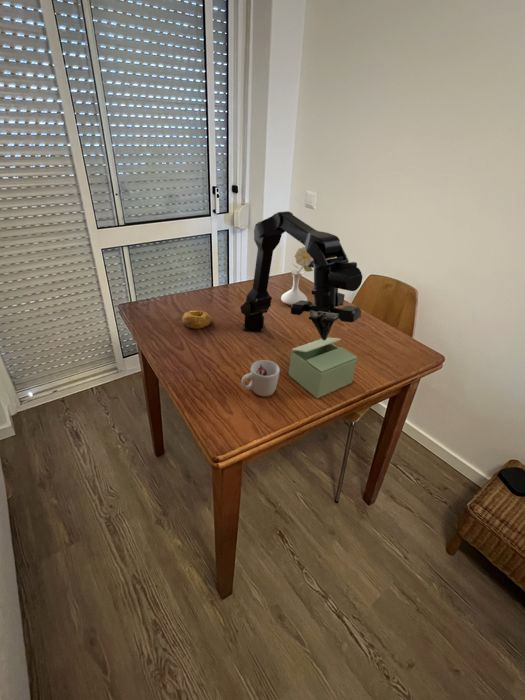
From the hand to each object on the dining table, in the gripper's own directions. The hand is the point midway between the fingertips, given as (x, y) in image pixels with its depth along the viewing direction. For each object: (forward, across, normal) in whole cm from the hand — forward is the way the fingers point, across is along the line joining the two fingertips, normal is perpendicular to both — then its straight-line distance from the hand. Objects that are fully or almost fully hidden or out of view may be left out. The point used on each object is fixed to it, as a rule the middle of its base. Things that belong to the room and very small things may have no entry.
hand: (324, 339), depth 99 cm
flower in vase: (+4, +35, -42) cm, 55 cm away
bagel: (+3, +53, -2) cm, 53 cm away
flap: (+3, +3, -1) cm, 4 cm away
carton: (+13, +2, -1) cm, 13 cm away
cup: (+13, +12, +16) cm, 24 cm away
